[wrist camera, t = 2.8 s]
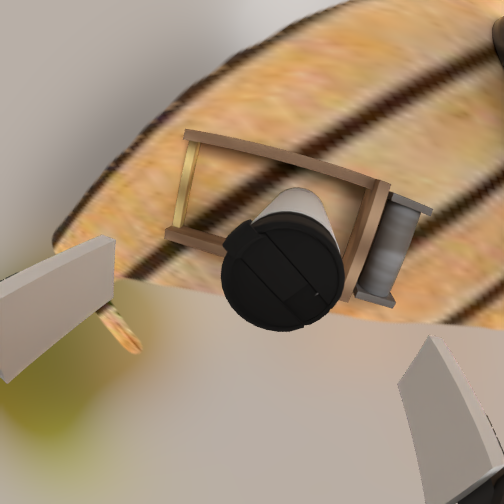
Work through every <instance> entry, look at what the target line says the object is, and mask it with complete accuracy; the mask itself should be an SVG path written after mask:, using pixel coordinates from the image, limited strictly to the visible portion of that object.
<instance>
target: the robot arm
mask: <svg viewBox="0 0 504 504" xmlns="http://www.w3.org/2000/svg"><path fill="white" fill-rule="evenodd" d="M493 40H494V44H495V47H496V50H497V53H498V56H499V58H500V60H501V62H502V64H503V66H504V16H503V17H502V18H500V19H499V20H497V21H496V22H495V24H494V26H493ZM115 244H116V240H115V239H113V238H110V237H107V236H104V235H100V236H98V237H95V238H93V239H91V240H88V241H86V242H84V243H81V244H79V245H77V246H74V247H72V248H70V249H68V250H65V251H63V252H61V253H59V254H56V255H54V256H52V257H50V258H48V259H46V260H44V261H42V262H39V263H37V264H35V265H33V266H31V267H29V268H27V269H25V270H23V271H21V272H18V273H15V274H13V275H11V276H9V277H7V278H6V279H5V280H4V279H3V280H1V281H0V377H1V378H2V379H3V380H4V381H5V382H6V383H9V382H10V381H11V380H12V379H13V378H14V377H16V376H17V375H18V374H19V373H20V372H21V371H22V370H24V369H25V368H26V367H27V366H28V365H30V364H31V363H32V362H33V361H34V360H35V359H37V358H38V357H39V356H40V355H41V354H43V353H44V352H45V351H46V350H47V349H49V348H50V347H51V346H52V345H54V344H55V343H56V342H57V341H58V340H60V339H61V338H62V337H63V336H65V335H66V334H67V333H68V332H70V331H71V330H72V329H73V328H75V327H76V326H77V325H78V324H80V322H82V321H83V320H85V319H86V318H87V317H89V316H90V315H91V314H92V313H94V312H95V311H96V310H98V309H99V308H100V307H102V306H103V305H104V304H105V303H107V302H108V301H109V300H111V299H112V298H113V289H114V287H113V286H114V260H115ZM397 385H398V388H399V391H400V395H401V398H402V401H403V405H404V408H405V412H406V415H407V419H408V423H409V427H410V430H411V435H412V438H413V442H414V447H415V451H416V455H417V460H418V465H419V470H420V475H421V480H422V485H423V491H424V497H425V503H426V504H456V503H458V504H504V452H503V449H502V447H501V445H500V442H499V440H498V438H497V437H496V433H495V431H494V429H492V424H491V422H490V420H489V418H488V416H487V415H486V414H485V412H484V410H483V408H482V406H481V404H480V402H479V400H478V398H477V397H476V395H475V393H474V391H473V389H472V387H471V385H470V384H469V382H468V380H467V378H466V376H465V375H464V373H463V371H462V369H461V368H460V366H459V364H458V363H457V361H456V359H455V358H454V356H453V354H452V353H451V351H450V349H449V348H448V346H447V345H446V343H445V341H444V340H443V338H441V337H437V336H433V335H428V337H427V339H426V341H425V342H424V344H423V346H422V348H421V349H420V351H419V352H418V354H417V356H416V357H415V359H414V360H413V362H412V363H411V365H410V366H409V368H408V370H407V371H406V373H405V374H404V375H403V377H402V378H401V380H400V381H399V383H398V384H397Z"/></svg>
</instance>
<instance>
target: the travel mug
mask: <svg viewBox="0 0 504 504" xmlns="http://www.w3.org/2000/svg"><path fill="white" fill-rule="evenodd" d="M222 246H223V248H224V249H225V250H226V251H227V253H226V256H225V258H224V261H223V264H222V270H221V282H222V288H223V291H224V294H225V297H226V299H227V300H228V302H229V304H230V305H231V307H232V308H233V309H234V310H235V311H236V312H237V314H238V315H240V316H241V317H242V318H243V319H245V320H246V321H248V322H249V323H251V324H253V325H255V326H257V327H260V328H263V329H266V330H272V331H277V332H290V331H293V330H297V329H300V328H304V325H310V324H312V323H314V322H316V321H318V320H320V319H321V318H322V317H323V316H324V315H326V314H327V313H328V312H329V311H330V309H332V308H333V307H334V305H335V304H336V303H337V301H338V300H339V299H340V297H341V295H342V292H343V289H344V283H345V271H344V264H343V261H342V258H341V255H340V249H339V247H338V244H337V241H336V238H335V235H334V233H333V230H332V227H331V225H330V222H329V219H328V217H327V214H326V212H325V209H324V207H323V204H322V202H321V200H320V199H319V198H318V197H317V196H316V195H315V194H314V193H313V192H311V191H309V190H307V189H304V188H290V189H287V190H285V191H283V192H282V193H280V194H279V195H278V196H277V197H276V198H275V199H274V200H273V201H272V202H271V203H270V204H269V205H268V206H267V207H266V208H265V209H264V210H263V211H262V212H261V213H260V214H259V215H258V216H257V217H256V218H255V219H254V220H253V221H251V219H250V220H247V221H245V222H243V223H242V224H240V225H239V226H238V227H237V228H236V229H234V230H233V231H232V232H231V233H230V234H229V235H228V237H227V238H226V240H225V241H224V243H223V244H222Z"/></svg>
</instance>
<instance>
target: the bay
mask: <svg viewBox="0 0 504 504" xmlns="http://www.w3.org/2000/svg"><path fill="white" fill-rule="evenodd" d="M183 139H185V140H189V144H188V148H187V153H186V157H185V162H184V167H183V171H182V176H181V181H180V186H179V191H178V197H177V202H176V208H175V213H174V219H173V225H172V226H171V227H169V228H167V229H166V230H165V237H164V239H167V240H171V241H174V242H177V243H180V244H183V245H186V246H189V247H192V248H196V249H199V250H202V251H205V252H208V253H211V254H215V255H218V256H221V257H224V258H225V256H226V253H227V251H226V250H225V249H224V248H223V246H222V244H223V243H224V241H225V240H226V238H223V237H219V236H216V235H213V234H209V233H206V232H203V231H199V230H196V229H193V228H189V227H186V226H184V220H185V215H186V209H187V204H188V199H189V194H190V189H191V184H192V179H193V175H194V170H195V166H196V161H197V157H198V152H199V148H200V144H201V143H206V144H211V145H215V146H220V147H225V148H229V149H234V150H238V151H243V152H247V153H251V154H255V155H259V156H263V157H267V158H271V159H275V160H278V161H282V162H286V163H289V164H293V165H296V166H300V167H303V168H307V169H310V170H313V171H317V172H320V173H323V174H326V175H330V176H333V177H336V178H339V179H342V180H345V181H348V182H351V183H354V184H357V185H360V186H362V187H365V188H366V190H365V194H364V197H363V200H362V203H361V207H360V210H359V213H358V216H357V219H356V222H355V225H354V228H353V231H352V234H351V237H350V240H349V242H348V245H347V248H346V251H345V254H344V256H343V259H342V261H343V264H344V271H345V283H344V289H343V292H342V295H341V297H340V299H339V300H341V301H344V302H347V303H348V301H349V299H350V297H351V294H352V292H354V295H355V298H358V299H362V300H365V301H368V302H372V303H375V304H379V305H382V306H386V307H389V308H393V307H394V305H395V303H396V302H395V300H394V298H393V296H392V295H391V293H390V291H391V289H392V286H393V284H394V282H395V280H396V277H397V275H398V273H399V270H400V268H401V265H402V263H403V260H404V258H405V255H406V253H407V250H408V248H409V245H410V242H411V240H412V237H413V234H414V231H415V228H416V226H417V223H418V220H419V217H420V214H421V213H424V214H426V215H428V216H431V214H432V210H433V209H431V208H429V207H427V206H425V205H422V204H420V203H418V202H415V201H413V200H410V199H408V198H405V197H403V196H400V195H398V194H395V193H393V192H390V191H389V189H390V186H391V184H389V183H387V182H384V181H381V180H378V179H374V178H371V177H369V176H366V175H363V174H360V173H357V172H354V171H351V170H348V169H346V168H343V167H339V166H336V165H333V164H330V163H327V162H324V161H321V160H317V159H314V158H311V157H307V156H304V155H300V154H297V153H293V152H289V151H286V150H282V149H278V148H274V147H270V146H266V145H262V144H258V143H254V142H250V141H245V140H241V139H236V138H231V137H227V136H222V135H217V134H212V133H206V132H201V131H195V130H189V129H185V133H184V137H183ZM386 199H388V200H387V203H386V206H385V202H386ZM384 206H385V210H384V213H383V216H382V219H381V222H380V225H379V227H378V224H379V221H380V218H381V215H382V212H383V209H384ZM377 227H378V230H377ZM376 230H377V233H376V236H375V239H374V242H373V244H372V241H373V238H374V235H375V232H376ZM371 244H372V247H371V250H370V252H369V249H370V246H371ZM368 252H369V255H368V258H367V260H366V257H367V254H368ZM365 260H366V263H365V266H364V268H363V271H362V273H361V276H360V277H359V275H360V272H361V270H362V267H363V265H364V262H365Z"/></svg>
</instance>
